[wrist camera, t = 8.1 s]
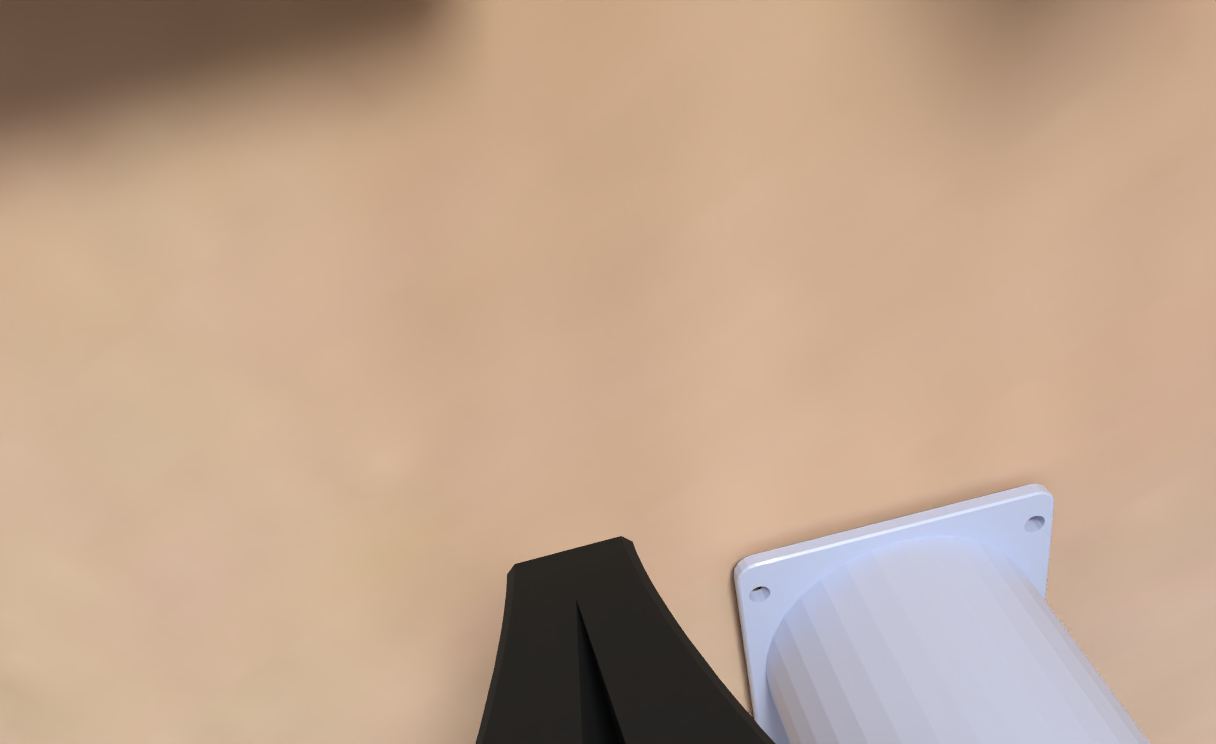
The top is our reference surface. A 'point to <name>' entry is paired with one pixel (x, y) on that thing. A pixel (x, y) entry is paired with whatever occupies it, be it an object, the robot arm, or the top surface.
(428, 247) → the top surface
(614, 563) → the robot arm
